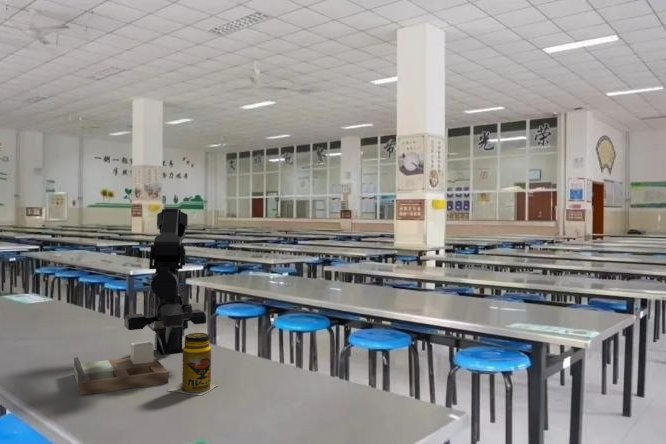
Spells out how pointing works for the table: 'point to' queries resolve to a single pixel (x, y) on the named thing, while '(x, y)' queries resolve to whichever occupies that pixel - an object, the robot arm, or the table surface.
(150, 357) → the block
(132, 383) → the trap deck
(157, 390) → the table surface
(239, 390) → the table surface
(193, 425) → the table surface
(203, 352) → the condiment
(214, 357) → the table surface
